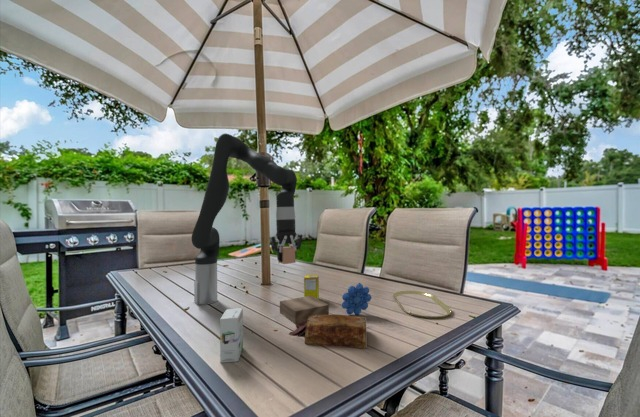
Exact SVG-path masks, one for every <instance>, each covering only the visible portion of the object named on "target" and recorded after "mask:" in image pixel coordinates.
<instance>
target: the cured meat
mask: <svg viewBox="0 0 640 417" xmlns="http://www.w3.org/2000/svg"><path fill="white" fill-rule="evenodd" d="M295 327H296V329H294V330H293V331H290V332H289V333H288V335H290V336H295V335H297V337H298V338H299V337H301V336H302V335H304V345H312V346H313V345H316V346H322V347H323V346H324V347H332V348H334V347H335V348H336V347H338V348H340V347H341V348H343V347H344V348H354V349H355V348H357V349H366V350H367V349H368V344H367V343H368V339H367V317H365V316H354V315H349V314H347V315H346V314H339V313H337V314H334V313H333V314H329V315H313V316H309V317H308V319H307V321H303V322H300V323H298V324H295ZM304 333H305V334H304Z"/></svg>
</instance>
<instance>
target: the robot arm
mask: <svg viewBox="0 0 640 417" xmlns="http://www.w3.org/2000/svg"><path fill="white" fill-rule="evenodd" d="M216 140H217V141H216V143H215V148H214V154H213V160H212V166H211V170H210V174H209V178H208V182H207V185H206V188H205V192H204V195H203V196H204V197H203V201H202V204H201V208H200V211H199V215H198V217H197V220H196V223H195V226H194V227H193V229H192V230H193V231H192V233H191V243H192V244H191V245H192V246H193V247H195V249H199V250H200V251H199V253H198V255H197V256H196V257H195V259H194V261H195V263H194V266H195V267H194V269H195V270H194V273H195V274H194V276H195V278H194V282H193V283H194V284H193V288H194V292H193V295H194V298H193V299H194V300H193V301H194V302H195V304H196V305H209V304H213V303H216V302H217V301H218V257H219V254H220V243H221V242H220V241H221V240H220V233H219V231H218V230H217V229H216V228H215V227H213V225H214V222H215V220H216V218H217V216H218V214H219V213H220V212H221V210H222V209H223V207H224V205H225V203H226V201H227V198H228V195H229V191H230V183H229V182H230V181H229V177H228V176H229V175H228V170H227V166H228V162H229V158H233V159H236V160H239V161H242V162H244V163H246V164H248V165H249V166H250V167H251V168H252V169H253V170H255V171H256V172H258V173H260V174H261V175H263V176H264V177H266V178H267V179H268V180H269V181H270V182H272V184H275V185H277V186H279V187H281V189H280V192H278V193H277V194H276V198H275V199H276V200H275V201H276V210H275V211H276V212H275V220H276V221H275V222H276V223H275V224H276V225H275V226H276V234H275V235H272V236H269V241H270V245H271V250H272V251H273V252H276V253H277V254H276V256H277V261H278V263H279V262H282V261H283V260H282V248H283V247H285V246H286V245H288V247H295V260H297V251H299V250H300V249H301V247H302V240H303V234H300V233H298V234H297V233H296V212H295V192H296V188H297V181H298V180H297V175H296V173H295V171H294V170H292V169H289V168H284V167H282V166H280V165H278V164H277V163H276V162H275V161H274V160H272V159H270V158H269V157H267V156H265V155H263V154H261V153H259V152H257V151H256V150H254V149H252V148H250V146H248V145H247V144H246V143H245V142H243V141H242V139H241V138H238V137H236V136H234V135H232V134H229V133H222V134H221V135H219V136H218V138H217V139H216ZM277 240H278V243H277Z"/></svg>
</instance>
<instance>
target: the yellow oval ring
mask: <svg viewBox="0 0 640 417" xmlns="http://www.w3.org/2000/svg"><path fill="white" fill-rule="evenodd" d="M402 295H419V296H424V297H427V298H430V299H431V300H432V301H434V303H436V304H437V305H438V306H439V307H441V309H442V310H444V311H445V312H446V314H445V315H436V316H435V315H423V314H417V313H413V312H410V311H407V310H406V309H405V308H404V306H403V305H402V303H401V302H400V301H399V300H398V298H397V297H398V296H402ZM392 297H393V298H394V300H395V301H396V302H397V304H398V306H400V308H401V310H403V311H404V312H405V313H406V314H407V315H410V316H413V317H417V318H423V319H435V320H436V319H443V318H446V317H448V316H450V315H451V313H452V309H451V307H449V306H447V305H446V304H445V303H444V302H443V301H441V300H440V299H439V298H438V297H436V296H435V295H433V294H431V293H428V292H424V291H418V290H400V291H396V292H394V293H393V294H392Z"/></svg>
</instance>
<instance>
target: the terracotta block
mask: <svg viewBox="0 0 640 417" xmlns="http://www.w3.org/2000/svg"><path fill="white" fill-rule="evenodd" d="M282 260H283V261H282V262H279V261H278V264H279V263H280V264H282V265H288V264H296V262H297V261H296V259H295V247H290V246H284V247H283V248H282Z"/></svg>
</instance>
